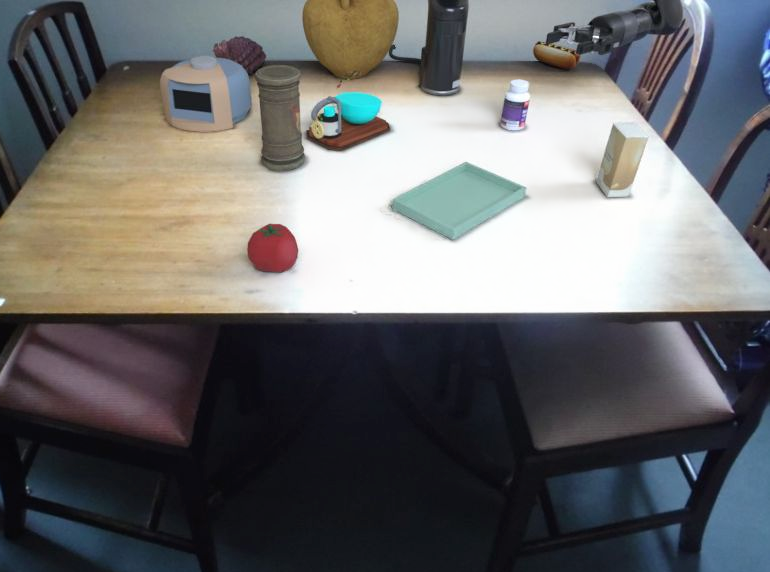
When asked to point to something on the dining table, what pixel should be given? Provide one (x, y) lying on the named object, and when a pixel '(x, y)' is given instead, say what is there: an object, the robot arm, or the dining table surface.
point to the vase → (350, 33)
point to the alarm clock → (205, 94)
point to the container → (280, 117)
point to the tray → (458, 199)
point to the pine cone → (241, 52)
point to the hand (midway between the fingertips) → (562, 44)
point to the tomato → (273, 248)
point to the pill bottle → (515, 105)
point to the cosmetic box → (621, 159)
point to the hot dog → (556, 55)
